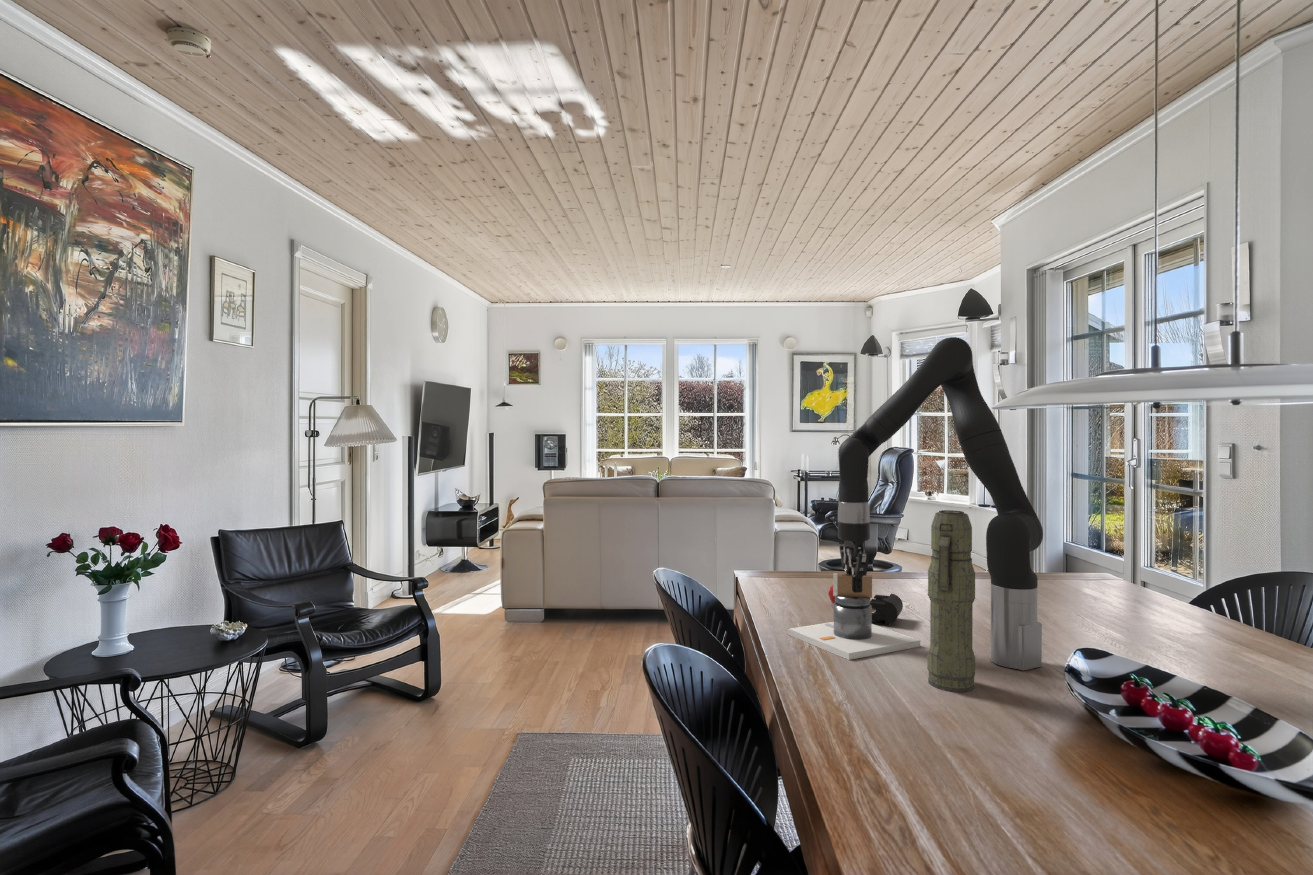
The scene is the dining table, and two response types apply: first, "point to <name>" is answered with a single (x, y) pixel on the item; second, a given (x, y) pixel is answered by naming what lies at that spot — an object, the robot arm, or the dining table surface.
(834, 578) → the lock lever handle
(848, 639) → the lock base
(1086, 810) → the dining table surface
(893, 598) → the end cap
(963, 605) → the thermos
